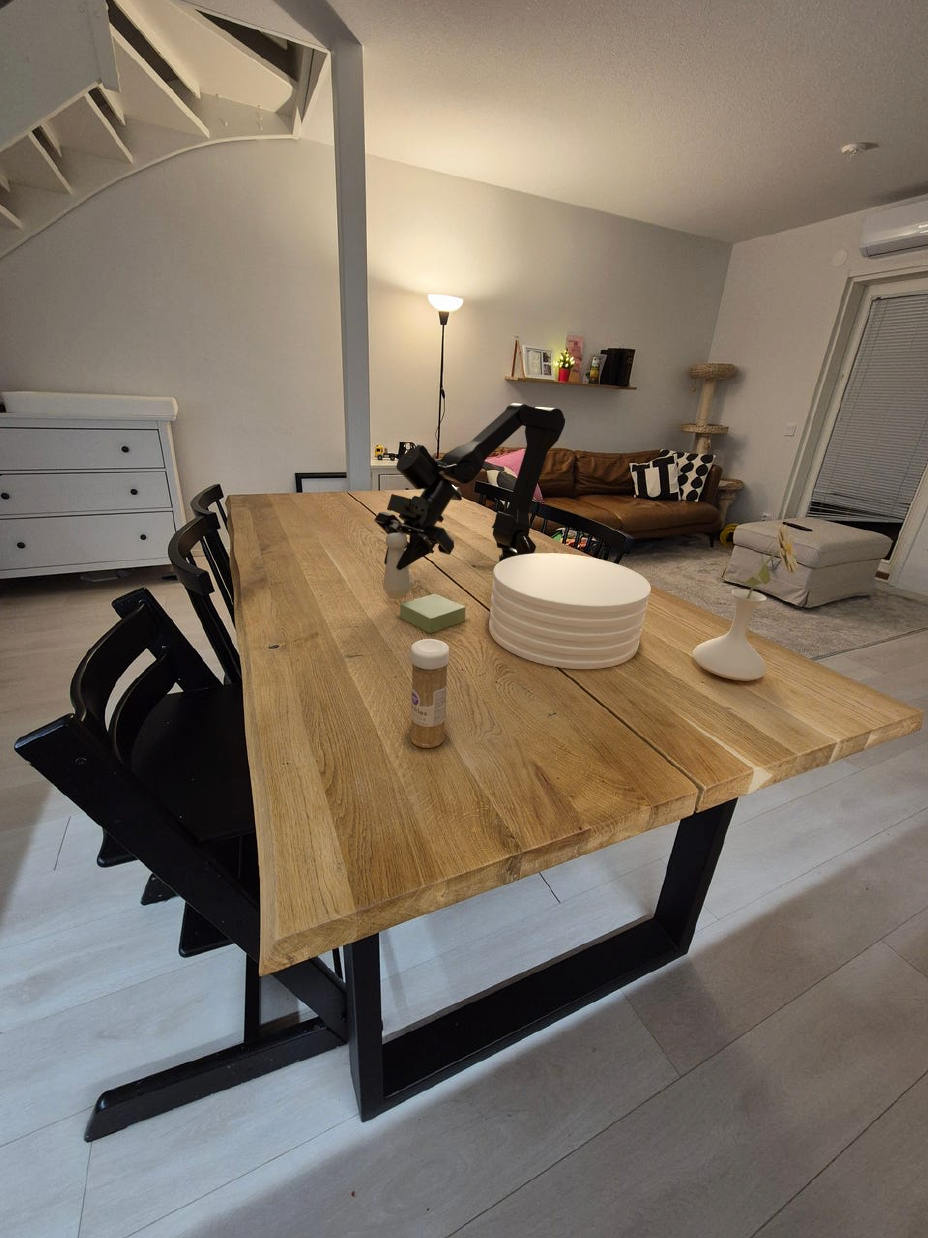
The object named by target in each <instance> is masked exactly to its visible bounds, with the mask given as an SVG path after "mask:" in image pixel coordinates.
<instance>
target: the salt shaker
mask: <svg viewBox="0 0 928 1238" xmlns="http://www.w3.org/2000/svg"><path fill="white" fill-rule="evenodd" d="M407 542H408V537H407V535H404V534H401V533H391V534H387V535H386V536H385V545H386V547H387V548H388V547H389V549H388V555H387V563H386V565H385V570H384V577H383V582H382V586H383V587H382V588H383V590H384V591H385V593H386V595H387V597H388V598H389V599H392V600H401V599H406V597H407V596H408V594H409V593H410V590H411V588H412V579H411V574H410V569H409V565H408V566H406V567H405V568H403V569H402V570H398V569H397V568H396V566H397V564H398V562H399V560H400V558H401V556H402V555H403V553H404V551H405V550H406V549H405V548H404V547H405V546H407Z"/></svg>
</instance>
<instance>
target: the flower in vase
mask: <svg viewBox="0 0 928 1238" xmlns="http://www.w3.org/2000/svg"><path fill="white" fill-rule="evenodd" d="M788 531H789V530H788V525H787V524H784V526H783V524H782V523H781V524H780V525H779V526H778V527H777V532H776V535H777V536H776V537H777V540H776V541H777V546H778V549H777V550H776V551H775V552H774V553H773V554H772V555H771V556H770V557H769V558H768V559H766V561H765V562H764V563H763V565H761V567H760V569H759V571H758V573H757V574H756V576H755V577H754V576H751V577H750V578H748V579H747V580H745V581H743V584H746V585H747V586H751V587H750V589H746V588H745V589H744V588H738V589H737V588H736V589H732V590H731V594H732V596H733V599H734V605H735V606H734V614H733V615H734V616H733V620H732V623H731V625H730V629H729V630H728V632H727V633H725V634H723V635H721V636H719V637H715V638H712V639H708V640H705V641H704V642H701V643H700V644H698V645H697V646H696V647H695V648H694V649H693V650H692V657H693V659H694V661H695V663H696V664H697V665H698V666H700V667H701V668H702V669H704V670H705V671H708V672H709V673H712V674H714V675H716V676H719V677H721V678H725V679H729V680H734V681H745V682H746V681H755V680H756V681H757V680H758V679H760V678H762V677H763V676H765V675H766V674H767V664H766V662H765V660H764V659H763V657H762V656H761V655H760V653H758V652H757V650H756V649H755V648H754V646H752V645H751V644H750V642H749V641H748V639H747V636H746V634H747V629H748V625H749V623H750V620H751V619H752V616H753V614H754V612H755V611H756V609H757V608H758V607H759V606H760V605H761V604H762V603H764V602H766V601H767V596H766V595H764V594H763V593H760V592H758V591H754V589H755V586H758V585H762V584H763V585H768V584H769V583H770V581H771V574H770V571H769V570H768V569H766V568H765V567H766V566H767V565H768V564H769V563H770V562H771V561H772V560H773V559H774V558H775V557H776V556H777V555H778V554H779V557H780V559H781V562H782V564H783V567H784V569H785V571H786V572H788V574H791V575H793V574H794V575H796V569H799V564H798V562H797V560H796V558H795V557H797V556H798V551H797V549H796V548H794V543H793V542H794V537H793V535H792V534H790V535H788V534H789V533H788ZM758 579H760V580H758Z"/></svg>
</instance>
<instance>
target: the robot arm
mask: <svg viewBox="0 0 928 1238" xmlns="http://www.w3.org/2000/svg"><path fill="white" fill-rule="evenodd" d="M565 425H566V418H565V415H564V412H563V411H562V410H561V409H560V408H558V407H557V408H556V407H544V406H535V407H533V406H531V405H528V404H525V403H516V402H515V403H511V404H509V405H507V406H506V408H505V409H504V411H502V412H501V414H499V415H498V416H497V417H496V418H495V419H494V420H493V421H491V423H489V424H488V425H487V426H486V427H485V428H484V429H482V430H481V431H480V433H478V434H477V435H476V436H475V437H474V438H473V439H471V440H470V441H468V442H467V443H464V444H461V445H458V446H456V447H454V448H453V449H451V450H449V451H448V452H446V453H445V454H443V456H442V457H441V458H437V459H435V458H434V457H433V456H432V455H431V454H430V453H429V450H428V449H427V448H426V447H425V445H423V444H419V443H418V444H417V445H416V446H414V448H412V449H409V450H407V452H405V453H404V454H402V455H401V456H400V457H399V459H398V461H397V462H396V467H395V468H396V470H397V472H399V473H400V474H401V475H402V476H403V477H404V478H405V479H406V481H407V482H409V483H410V485H411V486H412V487H413V488H414V489H415V490H421V489H422V490H423V491H422V493H421V494H420V496H417V495H413V496H412V498H409V497H406V496H402V495H398V494H394V493H391V495H390V498H389V501H388V504H387V508H386V510H387V511H390V512H394V513H396V514H399V515H398V517H397V516H396V515H395V514H393V513H390V512H386V511H381V512H380V511H379V512H378V513H377V514H376V516H375V518H374V520H373V521H374V523H376V524H377V525H378V526H379V527H380V529H382V531H383V532H384V533H385V534H387V535H388V534H391V533H401V534H404V535H406V536H407V535H408V536H409V538H408V539H409V540H408V541H407V546H405V547H404V548H405V551H404V553H403V555H402V556H401V558H400V560H399V562H398V564H397V566H396V568H397V569H398V570H402V569H403V568H405V567H406V566H408V567H409V566H410V565H411V564H413V563H415V562H416V561H418V560H421V559H422V558H424V557H426V556H427V555H429V554H434V553H435V550H434V548H435V547H436V545H437V550H438V552H439V553H441V554H445V555H448V556H450V555H451V554H452V552H453V551H454V549H455V540H454V539H453V538H452V537H451V536H450V534H449V533H448V532H447V530H446V529H445V528H444V527H440V526H437V525H436V524H437V523H443V521H444V520H445V518H444V516H443V513H444V512H445V510H446V509H447V507H448V505H449V504H450V503H451V501H459V502H460V501H462V500H463V497H462V493H461V487H459V486H454V484H453V483H452V482H455V483H459V484H463V485H467V484H470V483H472V482H473V481H474V480H475V479H476V477H477V476H478V475H479V474H480V473H481V471H482V470H483V467H484V464H485V461H486V460H487V459H488V458H489V456H490V455H492V454H493V453H494V452H495V451H496V450H497V449H499V447H500V446H501V445H503V444H504V443H505V442H507V440H508V439H509V438H511V436H512V435H514V434H515V433H516V432H517V431H518V430H519V429H520V428H521V427H522V426H523V427H525V429H524V436H525V442H526V447H525V451H524V454H523V457H522V460H521V462H520V463H521V464H520V467H519V470H518V474H517V476H516V480H515V483H514V486H513V489H512V492H511V496H510V500H509V502H508V505H507V507H506V508H505V509H504V510H503V511H502V512H501V511H497V513H496V514H495V518H494V522H493V524H492V526H491V529H493V530H492V537H493V539H494V541H495V544H496V547H497V549H500V550H501V554H499V555H498V563H499V562H500V561H502V560H504V559H507V558H510V557H513V556H518V555H524V554H535V553H536V549H537V545H536V543H535V542H534V541H533V540H532V538H531V537H530V536H529V535H530V530H531V521H530V515H529V512H530V509H531V505H532V501H533V500H534V497H535V494H536V489H537V487H538V483H539V480H540V477H541V475H542V470H543V468H544V464H545V461H546V458H547V456H548V452H549V451H550V450H551V449H552V448H553V446H554V445H555V444H556V443H557V442H558V441H559V439H560V437H561V435H562V432H563V430H564V428H565ZM441 475H442V476H441ZM451 481H452V482H451ZM402 521H403V522H402ZM388 549H389V547H388V546H387V548H386V552H385V556H384V560H383V563H384V565H385V566H386V563H387V555H388Z"/></svg>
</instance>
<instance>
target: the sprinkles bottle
mask: <svg viewBox="0 0 928 1238" xmlns="http://www.w3.org/2000/svg"><path fill="white" fill-rule="evenodd" d="M449 661H450V647H449V645H448V644H447V643H445V642H444V641H443V640H439V639H435V638H424V639H419V640H417V641H415V642H413V644H412V645H411V647H410V662H411V665H412V666H411V668H412V669H411V677H412V678H411V690H410V691H411V694H410V696H411V697H410V719H411V721H410V732H409V733H410V734H409V738H410V741H411V742H412V744H413V745H415V746H417V747H419V748H423V749H431V748H432V749H433V748H436V747H438V746H440V745H441V744H442V743H443V742H444V741H445V738H446V736H445V735H446V734H445V722H446V720H445V719H446V711H447V693H448V692H447V689H448V682H447V681H448V680H447V678H448V665H449Z"/></svg>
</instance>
